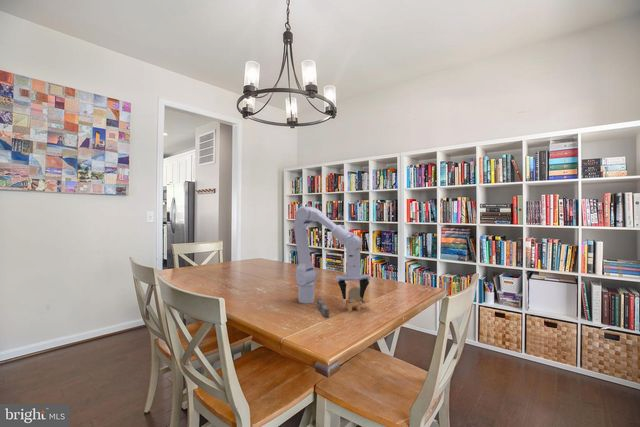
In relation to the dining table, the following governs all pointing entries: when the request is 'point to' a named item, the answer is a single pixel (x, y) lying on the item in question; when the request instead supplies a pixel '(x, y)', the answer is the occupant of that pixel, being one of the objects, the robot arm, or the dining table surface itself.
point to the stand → (323, 308)
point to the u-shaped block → (352, 304)
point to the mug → (354, 294)
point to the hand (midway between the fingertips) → (353, 297)
